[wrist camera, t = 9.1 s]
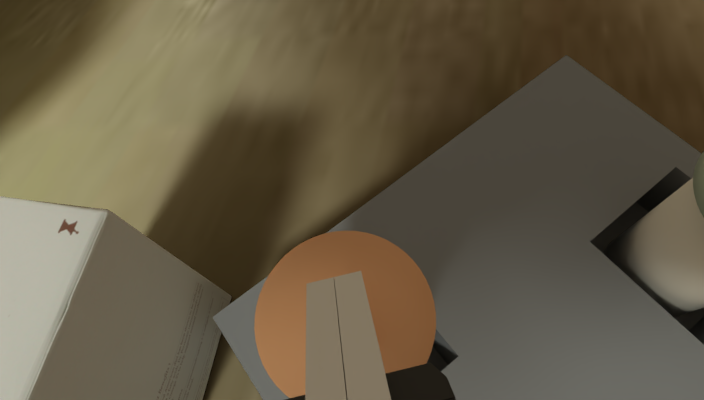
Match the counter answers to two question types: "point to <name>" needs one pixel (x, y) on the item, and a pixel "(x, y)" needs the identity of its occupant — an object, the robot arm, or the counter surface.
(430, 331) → the orange capped cylinder
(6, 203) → the supplement box
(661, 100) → the counter surface
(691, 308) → the green capped cylinder
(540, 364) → the console
